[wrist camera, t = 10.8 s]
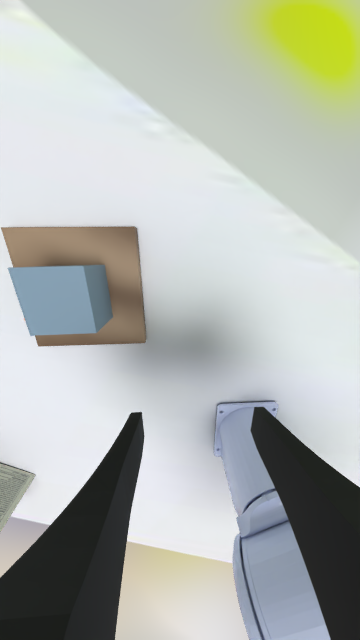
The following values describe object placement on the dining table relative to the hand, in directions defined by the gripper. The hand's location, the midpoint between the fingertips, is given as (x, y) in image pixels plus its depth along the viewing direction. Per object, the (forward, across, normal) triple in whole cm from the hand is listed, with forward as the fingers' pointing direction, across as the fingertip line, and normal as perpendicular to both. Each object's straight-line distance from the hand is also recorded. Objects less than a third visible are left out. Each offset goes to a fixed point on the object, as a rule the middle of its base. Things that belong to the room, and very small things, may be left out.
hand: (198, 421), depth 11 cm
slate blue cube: (+8, +10, -7) cm, 15 cm away
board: (+9, +10, -7) cm, 15 cm away
